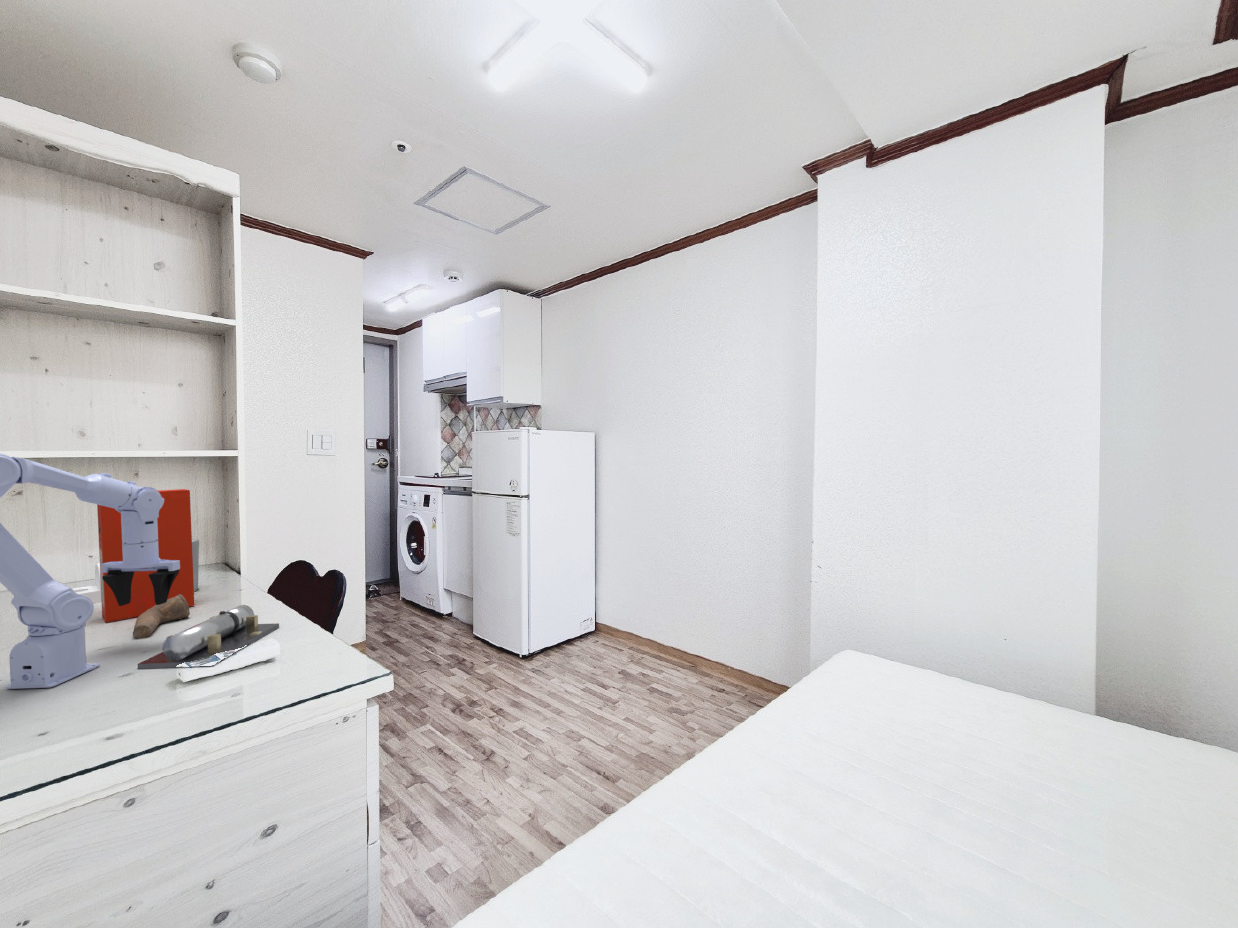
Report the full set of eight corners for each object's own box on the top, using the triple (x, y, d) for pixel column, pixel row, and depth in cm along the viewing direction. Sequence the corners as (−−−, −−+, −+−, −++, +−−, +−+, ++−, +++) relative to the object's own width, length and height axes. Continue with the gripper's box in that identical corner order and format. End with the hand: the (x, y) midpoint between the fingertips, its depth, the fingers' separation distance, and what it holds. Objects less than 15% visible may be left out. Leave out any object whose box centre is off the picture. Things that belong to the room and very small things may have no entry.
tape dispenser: (151, 594, 154) (150, 558, 154) (63, 609, 140) (61, 570, 140) (145, 589, 160) (143, 554, 160) (60, 602, 146) (58, 565, 146)
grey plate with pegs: (212, 666, 102) (211, 643, 101) (137, 668, 101) (136, 646, 101) (279, 627, 124) (278, 608, 123) (218, 629, 123) (217, 610, 123)
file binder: (102, 616, 133) (96, 493, 132) (187, 601, 146) (183, 488, 145) (105, 623, 128) (100, 495, 127) (194, 606, 141) (190, 490, 140)
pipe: (124, 621, 115) (181, 605, 121) (135, 603, 128) (187, 590, 134) (132, 648, 116) (188, 631, 122) (142, 627, 129) (193, 613, 135)
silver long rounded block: (191, 656, 102) (184, 630, 102) (166, 663, 102) (158, 636, 102) (256, 622, 122) (250, 600, 122) (235, 627, 122) (229, 605, 122)
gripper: (189, 537, 116) (192, 597, 116) (121, 539, 115) (124, 599, 115) (164, 543, 109) (166, 607, 109) (91, 545, 108) (94, 609, 108)
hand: (143, 603), depth 112 cm, fingers open, 7 cm apart
